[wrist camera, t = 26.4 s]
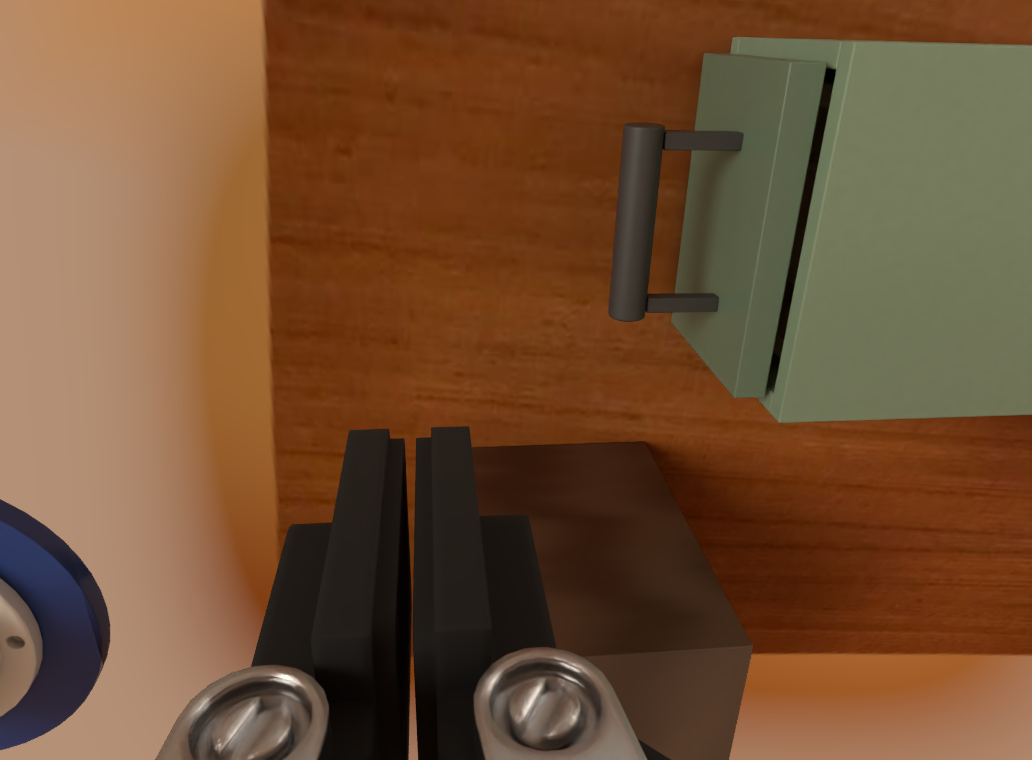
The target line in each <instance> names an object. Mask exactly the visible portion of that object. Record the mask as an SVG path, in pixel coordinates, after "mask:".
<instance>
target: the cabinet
mask: <svg viewBox="0 0 1032 760" xmlns="http://www.w3.org/2000/svg"><path fill="white" fill-rule="evenodd" d="M730 54H742V55H753V56H764V57H775V58H786V59H796V60H807V61H818V62H826V63H827V67H826V72H825V75H835V80H834V85H833V90H832V95H831V100H830V106H829V111H828V116H827V121H826V126H825V131H824V137H823V142H822V147H821V152H820V157H819V162H818V168H817V173H816V178H815V183H814V188H813V193H812V199H811V204H810V209H809V214H808V219H807V224H806V230H805V235H804V240H803V245H802V250H801V255H800V261H799V266H798V271H797V276H796V281H795V286H794V292H793V297H792V302H791V307H790V312H789V317H788V323H787V328H786V333H785V338H784V343H783V349H782V354H781V359H780V358H779V357H778V356H777V355H776V354H775V353H774V352H773V354H772V360H771V365H770V370H769V376H768V381H767V386H766V392H765V396H764V397H756V398H757V399H758V400H759V401H760V402H761V403H762V405H763V406H764V407H765V408H766V409H767V410H768V411H769V412H770V414H771V415H772V416H773V417H774V418H775V419H776V420H777V422H779V423H794V422H824V421H855V420H885V419H916V418H946V417H977V416H1007V415H1032V45H1014V44H977V43H940V42H904V41H867V40H831V39H794V38H757V37H733V39H732V46H731V53H730Z"/></svg>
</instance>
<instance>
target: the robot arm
mask: <svg viewBox="0 0 1032 760" xmlns="http://www.w3.org/2000/svg"><path fill="white" fill-rule="evenodd" d="M411 614H412V601H411V572H410V550H409V527H408V505H407V483H406V460H405V441H404V438H403V439H390V432H389V429H371V430H350V431H349V435H348V440H347V445H346V451H345V456H344V462H343V467H342V472H341V478H340V483H339V489H338V494H337V499H336V505H335V510H334V516H333V521H332V523H313V524H292V525H291V526H290V527H289V530H288V532H287V535H286V539H285V543H284V547H283V550H282V554H281V558H280V561H279V565H278V569H277V573H276V576H275V580H274V584H273V587H272V591H271V595H270V599H269V602H268V606H267V610H266V614H265V617H264V621H263V625H262V628H261V632H260V636H259V639H258V643H257V647H256V650H255V654H254V658H253V662H252V665H251V667H250V668H246V669H243V670H240V671H236V672H233V673H230V674H228V675H226V676H225V677H223V678H221V679H219V680H217V681H216V682H213V683H211V684H210V685H209V686H207V687H206V688H205V689H204V690H202V691H201V692H200V693H199V694H198V695H196V696H195V697H194V698H193V699H192V700H191V701H190V702H189V704H188V705H187V706H186V708H185V709H184V710H183V712H182V713H181V714H180V716H179V717H178V719H177V720H176V722H175V724H174V726H173V728H172V730H171V731H170V733H169V735H168V737H167V739H166V741H165V743H164V744H163V746H162V748H161V750H160V752H159V754H158V756H157V758H156V759H155V760H408V753H409V751H408V750H409V703H410V660H411ZM413 653H414V674H415V698H416V720H417V742H418V760H671V759H669V758H667V757H666V756H664V755H663V754H661V753H659V752H658V751H656V750H655V749H653V748H652V747H650V746H648V745H647V744H645V743H644V742H642V741H641V740H639V739H637V737H636V735H635V733H634V731H633V729H632V727H631V725H630V722H629V720H628V718H627V716H626V714H625V712H624V710H623V708H622V706H621V704H620V701H619V699H618V697H617V695H616V693H615V691H614V689H613V687H612V686H611V684H610V683H609V681H608V680H607V678H606V677H605V675H604V674H603V673H602V671H600V670H599V669H598V668H597V667H595V666H594V665H593V664H592V663H590V662H589V661H588V660H587V659H585V658H583V657H580V656H578V655H576V654H574V653H571V652H569V651H566V650H560V649H557V648H556V643H555V639H554V634H553V629H552V625H551V620H550V615H549V610H548V606H547V601H546V596H545V592H544V587H543V582H542V578H541V573H540V568H539V563H538V559H537V554H536V549H535V545H534V540H533V535H532V531H531V526H530V522H529V518H528V516H527V514H513V515H490V516H479V510H478V501H477V492H476V483H475V474H474V465H473V456H472V448H471V439H470V430H469V426H465V427H434V428H431V438H416V480H415V533H414V586H413ZM42 658H43V641H42V637H41V633H40V629H39V625H38V623H37V621H36V619H35V617H34V616H33V614H32V612H31V610H30V608H29V607H28V605H27V604H26V603H25V602H24V601H23V599H22V598H21V597H20V596H19V595H18V593H17V592H16V591H15V590H14V589H13V588H11V587H10V586H9V585H8V584H7V583H6V582H4V581H3V580H2V579H1V578H0V717H1V716H2V715H4V714H5V713H6V712H8V711H9V710H11V709H12V708H13V707H15V706H16V705H17V704H18V702H19V701H20V700H21V699H22V698H23V696H24V695H25V694H26V693H27V691H28V690H29V688H30V686H31V685H32V683H33V681H34V679H35V678H36V676H37V674H38V671H39V668H40V665H41V662H42Z"/></svg>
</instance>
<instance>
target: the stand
mask: <svg viewBox="0 0 1032 760" xmlns="http://www.w3.org/2000/svg"><path fill="white" fill-rule="evenodd" d="M472 456H473V465H474V474H475V483H476V492H477V501H478V510H479V516H490V515H513V514H527V516H528V518H529V522H530V526H531V531H532V535H533V540H534V545H535V549H536V554H537V559H538V563H539V568H540V573H541V578H542V582H543V587H544V592H545V596H546V601H547V606H548V610H549V615H550V620H551V625H552V629H553V634H554V639H555V643H556V648H557V649H560V650H566V651H569V652H571V653H574V654H576V655H578V656H580V657H583V658H585V659H587V660H588V661H589V662H590V663H592V664H593V665H594V666H595V667H597V668H598V669H599V670H600V671H602V673H603V674H604V675H605V677H606V678H607V680H608V681H609V683H610V684H611V686H612V687H613V689H614V691H615V693H616V695H617V697H618V699H619V701H620V704H621V706H622V708H623V710H624V712H625V714H626V716H627V718H628V720H629V722H630V725H631V727H632V729H633V731H634V733H635V735H636V737H637V739H639V740H641V741H642V742H644V743H645V744H647V745H648V746H650V747H652V748H653V749H655V750H656V751H658V752H659V753H661V754H663V755H664V756H666V757H667V758H669V759H671V760H729V756H730V752H731V747H732V742H733V738H734V733H735V728H736V724H737V719H738V714H739V709H740V705H741V700H742V696H743V691H744V687H745V682H746V677H747V673H748V668H749V663H750V659H751V654H752V649H753V645H752V643H751V641H750V640H749V638H748V636H747V634H746V632H745V630H744V628H743V626H742V624H741V623H740V621H739V619H738V617H737V615H736V613H735V611H734V609H733V607H732V606H731V604H730V602H729V600H728V598H727V596H726V594H725V592H724V590H723V589H722V587H721V585H720V583H719V581H718V579H717V577H716V575H715V574H714V572H713V570H712V568H711V566H710V564H709V562H708V560H707V558H706V557H705V555H704V553H703V551H702V549H701V547H700V545H699V543H698V541H697V540H696V538H695V536H694V534H693V532H692V530H691V528H690V526H689V524H688V523H687V521H686V519H685V517H684V515H683V513H682V511H681V509H680V507H679V506H678V504H677V502H676V500H675V498H674V496H673V494H672V492H671V490H670V489H669V487H668V485H667V483H666V481H665V479H664V477H663V475H662V473H661V472H660V470H659V468H658V466H657V464H656V462H655V460H654V458H653V457H652V455H651V453H650V451H649V449H648V447H647V445H646V443H645V442H622V443H593V444H565V445H536V446H507V447H479V448H472Z"/></svg>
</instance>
